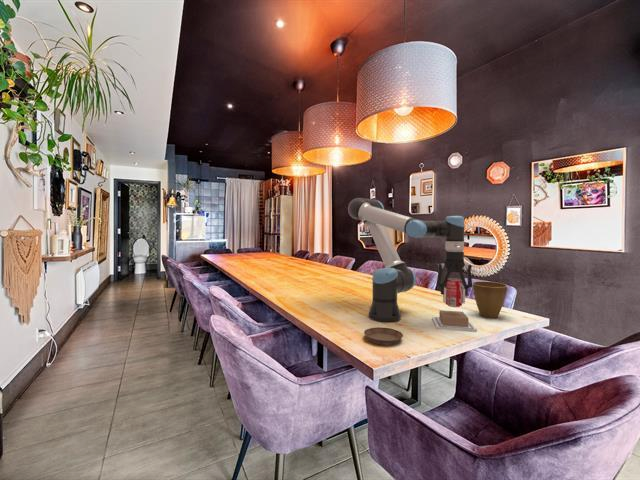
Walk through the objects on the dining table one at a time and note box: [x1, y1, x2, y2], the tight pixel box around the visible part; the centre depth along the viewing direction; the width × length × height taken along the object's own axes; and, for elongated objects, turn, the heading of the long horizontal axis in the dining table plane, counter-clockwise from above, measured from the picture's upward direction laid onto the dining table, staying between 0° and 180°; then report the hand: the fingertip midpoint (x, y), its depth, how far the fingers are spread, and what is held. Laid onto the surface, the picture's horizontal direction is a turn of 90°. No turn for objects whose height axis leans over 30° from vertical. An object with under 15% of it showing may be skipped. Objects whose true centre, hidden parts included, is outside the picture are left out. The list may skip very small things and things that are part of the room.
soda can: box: [444, 277, 464, 308], centre depth 131 cm, size 7×7×12 cm
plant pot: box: [472, 280, 508, 319], centre depth 145 cm, size 15×15×16 cm
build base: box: [431, 309, 478, 333], centre depth 132 cm, size 16×14×5 cm
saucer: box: [363, 327, 404, 346], centre depth 114 cm, size 15×15×3 cm
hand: (453, 302), depth 131 cm, fingers closed on soda can, 7 cm apart
